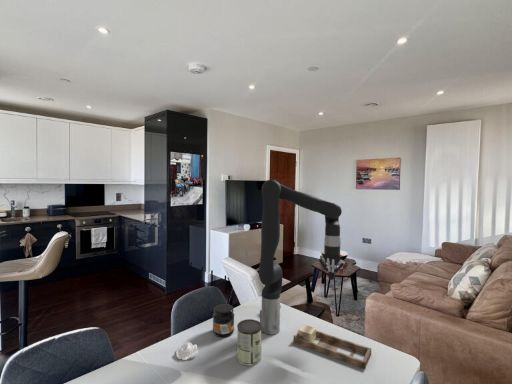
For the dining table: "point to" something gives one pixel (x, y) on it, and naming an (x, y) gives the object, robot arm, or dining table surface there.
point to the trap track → (335, 348)
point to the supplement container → (223, 320)
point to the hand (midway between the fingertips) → (331, 279)
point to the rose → (186, 351)
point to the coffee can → (249, 342)
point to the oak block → (307, 333)
